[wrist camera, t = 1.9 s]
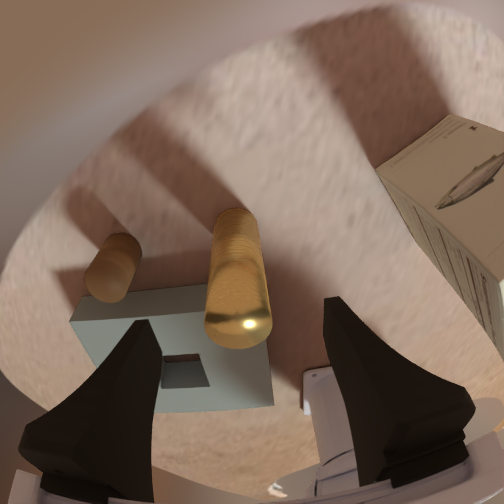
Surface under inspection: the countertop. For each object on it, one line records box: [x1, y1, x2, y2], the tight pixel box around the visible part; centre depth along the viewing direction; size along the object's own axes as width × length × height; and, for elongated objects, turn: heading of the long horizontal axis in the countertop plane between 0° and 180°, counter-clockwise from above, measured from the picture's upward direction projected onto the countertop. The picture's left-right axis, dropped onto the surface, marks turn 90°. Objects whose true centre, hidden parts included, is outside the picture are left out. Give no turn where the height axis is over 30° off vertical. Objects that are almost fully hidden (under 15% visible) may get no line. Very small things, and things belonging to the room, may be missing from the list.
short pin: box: [84, 233, 142, 303], centre depth 19 cm, size 3×3×4 cm
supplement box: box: [375, 114, 504, 361], centre depth 14 cm, size 7×7×13 cm
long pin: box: [204, 208, 272, 349], centre depth 17 cm, size 3×3×9 cm
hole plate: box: [69, 284, 274, 413], centre depth 25 cm, size 14×12×3 cm
